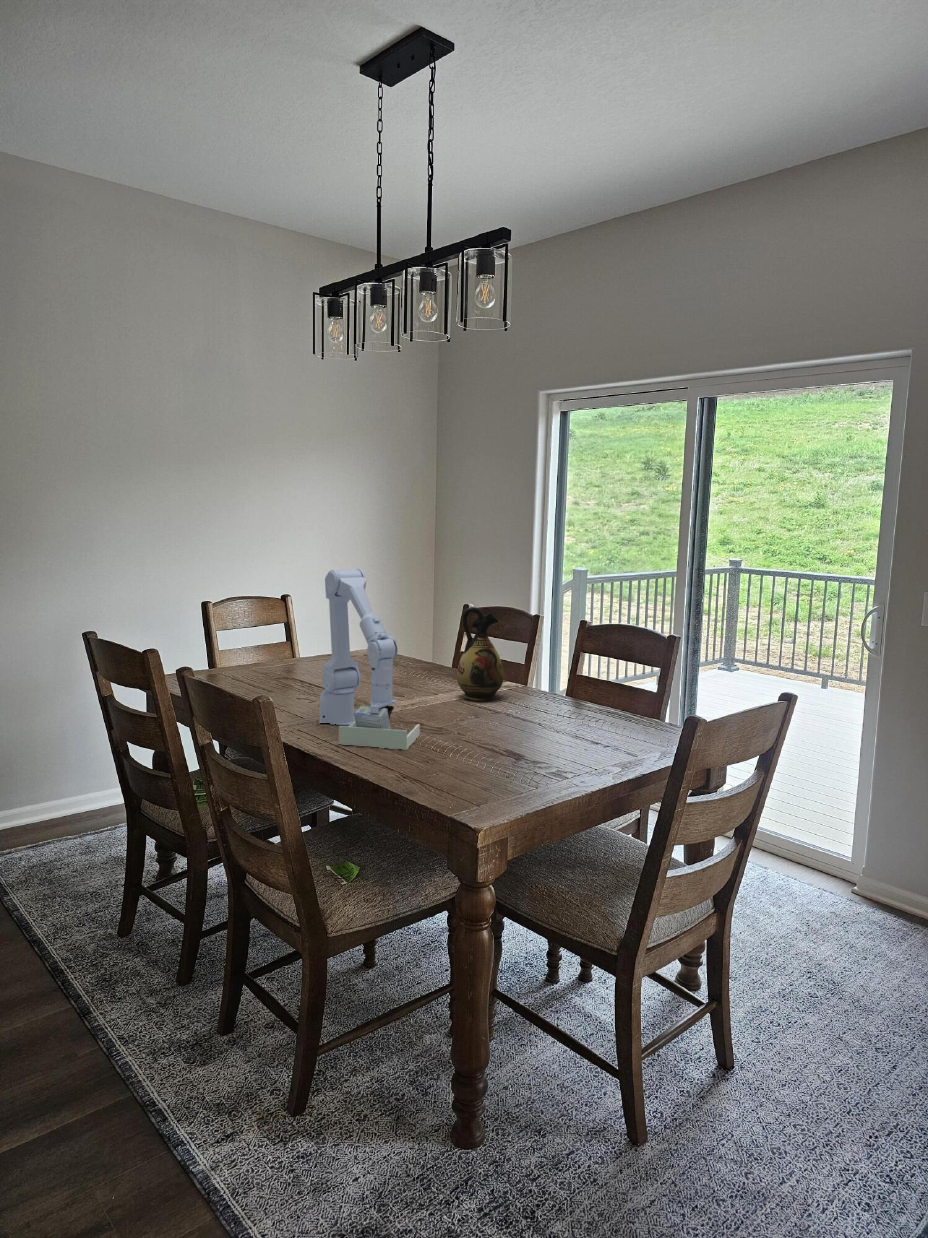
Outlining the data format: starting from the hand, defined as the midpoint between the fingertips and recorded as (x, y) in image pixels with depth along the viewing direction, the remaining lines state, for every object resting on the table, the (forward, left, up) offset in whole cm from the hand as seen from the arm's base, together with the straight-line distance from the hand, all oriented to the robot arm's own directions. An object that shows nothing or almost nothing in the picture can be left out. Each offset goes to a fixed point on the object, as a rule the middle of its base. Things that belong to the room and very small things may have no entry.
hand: (381, 733), depth 217 cm
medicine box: (-1, -3, -1) cm, 3 cm away
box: (0, -1, -1) cm, 2 cm away
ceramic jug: (+17, +54, -2) cm, 57 cm away
